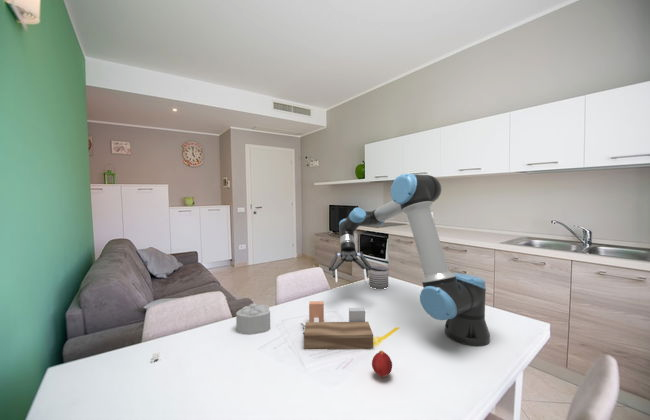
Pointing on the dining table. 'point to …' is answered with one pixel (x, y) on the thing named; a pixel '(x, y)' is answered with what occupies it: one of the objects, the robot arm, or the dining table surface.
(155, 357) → the adhesive hook
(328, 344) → the plunger housing
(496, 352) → the dining table surface
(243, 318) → the lumpy-topped squat cylinder
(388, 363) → the red oval fruit
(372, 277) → the can
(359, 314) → the grey plunger
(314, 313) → the peach rectangular block
